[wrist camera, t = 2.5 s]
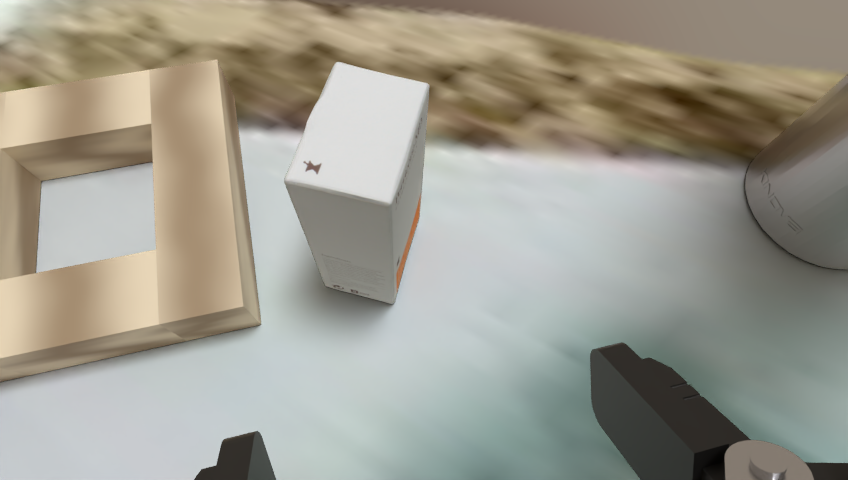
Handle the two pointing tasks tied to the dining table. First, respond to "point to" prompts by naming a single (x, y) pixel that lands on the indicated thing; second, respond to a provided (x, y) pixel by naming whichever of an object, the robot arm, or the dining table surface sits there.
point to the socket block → (174, 218)
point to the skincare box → (361, 178)
